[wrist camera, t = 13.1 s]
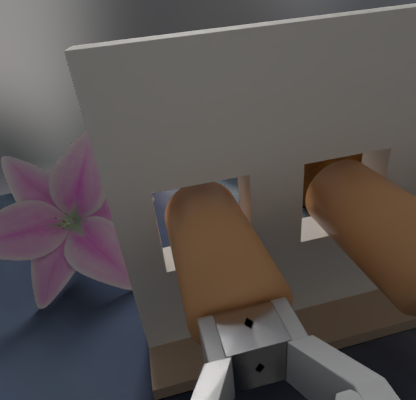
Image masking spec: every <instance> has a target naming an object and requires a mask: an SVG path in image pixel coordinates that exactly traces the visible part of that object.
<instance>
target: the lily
mask: <svg viewBox="0 0 416 400" xmlns="http://www.w3.org/2000/svg"><path fill="white" fill-rule="evenodd" d="M1 164H2V169H3V172H4V175H5V178H6V181H7V184H8V186H9V188H10V191H11V193H12V195H13V197H14V198H15V200H16V203H14V204H12V205H9V206H7V207H5V208H3V209H1V210H0V259H3V260H31V276H32V286H33V292H34V298H35V301H36V305H37V307H38V308H39V309H43V308H46V307H47V306H48V305H49V304H50V303H51V302H52V301H53V300H54V298H55V297H56V296H57V295H58V294H59V293H60V291H61V290H62V289H63V288H64V286H65V285H66V284H67V282H68V281H69V280H70V278H71V277H72V275H73V274H74V272H75V271H78V272H79V273H81V274H83V275H85V276H87V277H90V278H92V279H95V280H97V281H100V282H103V283H106V284H108V285H111V286H115V287H118V288H122V289H127V290H132V287H131V284H130V280H129V277H128V273H127V270H126V266H125V263H124V259H123V256H122V252H121V248H120V245H119V241H118V238H117V234H116V231H115V227H114V224H113V220H112V217H111V213H110V210H109V206H108V203H107V199H106V196H105V192H104V189H103V185H102V182H101V178H100V175H99V171H98V168H97V164H96V161H95V157H94V154H93V150H92V147H91V143H90V140H89V136H88V133H87V131H85V132H84V133H82V135H80V136H79V137H78V139H76V140H75V141H74V142H73V143H72V144H71V146H69V148H68V149H67V150H66V151H65V152H64V153H63V154H62V156H61V157H60V158H59V159H58V161H57V162H56V163H55V165H54V167H53V169H52V171H51V172H48V171H46V170H44V169H42V168H40V167H38V166H35V165H33V164H30V163H28V162H25V161H22V160H19V159H17V158H13V157H9V156H5V157H2V159H1ZM154 199H155V197H153V196H152V200H153V202H154Z"/></svg>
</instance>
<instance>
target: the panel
mask: <svg viewBox="0 0 416 400" xmlns="http://www.w3.org/2000/svg"><path fill="white" fill-rule="evenodd" d="M65 55H66V59H67V63H68V66H69V70H70V73H71V77H72V80H73V84H74V87H75V90H76V94H77V98H78V101H79V105H80V108H81V112H82V115H83V119H84V122H85V126H86V129H87V133H88V136H89V140H90V143H91V147H92V150H93V154H94V157H95V161H96V164H97V168H98V171H99V175H100V178H101V182H102V185H103V189H104V192H105V196H106V199H107V203H108V206H109V210H110V213H111V217H112V220H113V224H114V227H115V231H116V234H117V238H118V241H119V245H120V248H121V252H122V256H123V259H124V263H125V266H126V270H127V273H128V277H129V280H130V284H131V287H132V291H133V294H134V298H135V301H136V305H137V308H138V312H139V315H140V319H141V322H142V326H143V329H144V333H145V336H146V340H147V343H148V347H149V356H150V367H151V379H152V391H153V394H154V398H155V400H158V399H162V398H165V397H169V396H172V395H176V394H179V393H183V392H187V391H190V390H194V389H195V386H196V383H197V381H198V378H199V375H200V372H201V370H202V367H203V364H205V361H204V357H203V352H202V346H201V345H199V344H198V343H197V342H195V341H194V339H193V338H192V337H191V335H190V333H189V330H188V326H187V321H186V317H185V312H184V307H183V303H182V298H181V293H180V288H179V284H178V279H177V274H176V270H175V265H174V260H173V256H172V251H171V246H170V247H165V248H162V243H161V239H160V234H159V229H158V224H157V219H156V214H155V210H154V205H153V200H152V195H151V194H152V193H157V192H162V191H167V190H173V189H178V188H183V187H188V186H194V185H199V184H204V183H209V182H215V181H220V180H225V179H230V178H235V177H238V192H239V206H240V208H241V209H242V211H243V212H244V214H245V216H246V217H247V219H248V221H249V222H250V224H251V225H252V227H253V229H254V230H255V232H256V234H257V235H258V237H259V238H260V240H261V242H262V243H263V245H264V247H265V248H266V250H267V251H268V253H269V255H270V256H271V258H272V260H273V261H274V263H275V264H276V266H277V268H278V269H279V271H280V273H281V274H282V276H283V277H284V279H285V281H286V282H287V284H288V286H289V287H290V289H291V292H292V296H293V304H292V309H293V310H294V312H295V314H296V315H297V317H298V319H299V320H300V322H301V324H302V326H303V327H304V329H305V331H306V332H307V334H308V336H311V335H314V336H315V337H317V338H319V339H320V340H322V341H324V342H325V343H327V344H329V345H330V346H332V347H334V348H335V349H341V348H344V347H348V346H352V345H355V344H359V343H362V342H366V341H369V340H373V339H377V338H380V337H384V336H387V335H391V334H395V333H398V332H402V331H405V330H409V329H413V328H416V316H415V317H414V316H408V315H405V314H403V313H402V312H400V311H399V310H398V309H397V308H396V306H395V305H394V304H393V303H392V302H391V301H390V300H389V299H388V298H387V297H386V296H385V295H384V294H383V293H382V292H381V290H380V289H379V288H378V287H377V286H376V285H375V284H374V283H373V282H372V281H371V280H370V279H369V278H368V277H367V276H366V274H365V273H364V272H363V271H362V270H361V269H360V268H359V267H358V266H357V265H356V264H355V263H354V262H353V261H352V260H351V258H350V257H349V256H348V255H347V254H346V253H345V252H344V251H343V250H342V249H341V248H340V247H339V246H338V245H337V243H336V242H335V241H334V240H333V239H332V238H331V237H330V236H329V235H328V234H327V233H326V232H325V231H324V230H323V229H322V227H321V226H320V225H319V224H318V223H317V222H316V221H315V220H314V219H313V218H312V217H311V216H310V217H305V218H302V205H303V184H304V164H309V163H314V162H319V161H325V160H330V159H335V158H340V157H346V156H351V155H356V154H361V153H363V155H362V162H361V163H363V164H364V165H366V166H367V167H369V168H371V169H372V170H374V171H375V172H377V173H379V174H380V175H382V176H383V177H385V178H387V179H388V180H390V181H391V182H393V183H395V184H396V185H398V186H400V187H401V188H403V189H404V190H406V191H408V192H409V193H411V194H412V195H414V196H416V3H415V4H407V5H399V6H391V7H383V8H375V9H366V10H358V11H350V12H342V13H334V14H326V15H318V16H310V17H302V18H294V19H286V20H278V21H270V22H262V23H254V24H245V25H238V26H229V27H221V28H213V29H206V30H197V31H189V32H181V33H173V34H165V35H157V36H149V37H142V38H133V39H125V40H117V41H108V42H100V43H92V44H85V45H76V46H71V47H70V48H68V49H67V50H65Z"/></svg>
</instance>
